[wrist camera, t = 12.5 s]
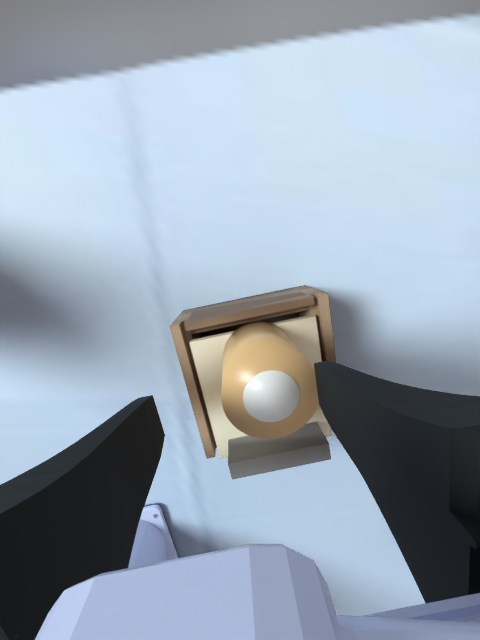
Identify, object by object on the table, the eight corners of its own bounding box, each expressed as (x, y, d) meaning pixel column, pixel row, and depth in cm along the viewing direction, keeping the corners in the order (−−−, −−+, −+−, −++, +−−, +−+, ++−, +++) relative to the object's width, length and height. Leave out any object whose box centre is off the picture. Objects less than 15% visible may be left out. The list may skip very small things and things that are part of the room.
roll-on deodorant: (289, 316, 16) (316, 342, 11) (296, 381, 17) (324, 432, 12) (217, 327, 16) (212, 359, 11) (229, 392, 17) (229, 447, 12)
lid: (328, 430, 19) (345, 459, 16) (220, 453, 19) (218, 484, 16) (313, 314, 17) (329, 325, 14) (190, 340, 17) (183, 355, 14)
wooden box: (320, 394, 23) (344, 430, 18) (211, 416, 23) (206, 458, 18) (304, 285, 20) (327, 293, 16) (183, 310, 21) (169, 326, 16)
